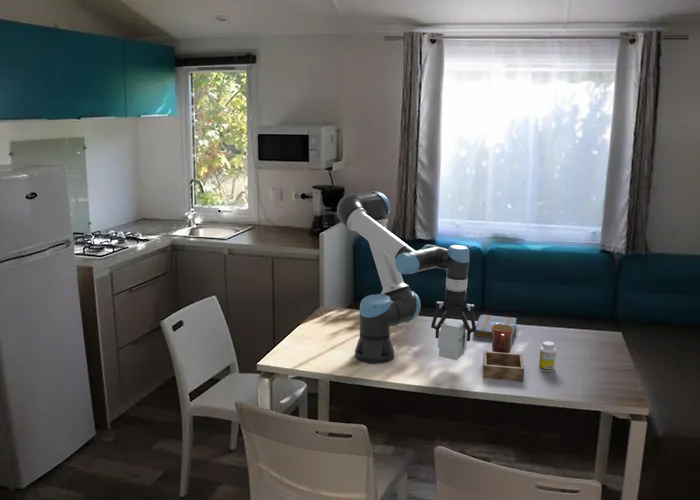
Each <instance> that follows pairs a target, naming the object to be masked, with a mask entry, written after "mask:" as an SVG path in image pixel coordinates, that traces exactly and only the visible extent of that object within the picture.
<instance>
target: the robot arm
mask: <svg viewBox="0 0 700 500" xmlns="http://www.w3.org/2000/svg"><path fill="white" fill-rule="evenodd" d="M336 208H337V209H336V214H337V217H338V219H339V221H340V223H341V224H343V226H345V227H346V228H347V229H348V230H350V231H355V232H356V233H357V234H359V235H360V236H361V237H363V238H364V239H366V240H367V241H368V244H369V248H370V251H371V253H372V254H371V255H372V257H373V260H374V263H375V267H376V270H377V274H378V277H379V280H380V282H381V286H382V287H381V288H382V290H381V293H376V294H369V295H366V296H364V298H362V299H361V301H360V305H359V338H358V340H357V344H356V347H355V349H354V357H355V359H356V360H358V361H360V362H362V363H366V364H375V365H376V364H384V363H385V364H386V363H388V362H391V361H393V359H394V358H395V349H394V346H393V342H392V340H391V328H392V327H395V326H399V325H403V324H404V323H406V324H407V323H409V322H411V321H413V320H415V319H416V318H417V317H418V316H419V314H420V312H421V306H422V305H421V299H420V297H419V295H418V294H417V293H416V292H415V291H413V290H411V288H410V285H409V284H407V283H405V281H404V279H403V276H402V275H412V274H415V273H419V272H422V271H427V270H432V269H435V268H436V269H440V270H445V271H446V276H445V277H446V278H445V291H444V300H443V301H439V300H437V301H436V303H435V312H434V316H433V318H432V321H431V326H430V327H431V328H432V329H434V330H435V336H434V337H435V339H438V341H437V348H438V349H439V345H440V330H441V324H442V323H443V322H445V321H446V320H447V319H448V318H447V317H448V316H449V314H450V315H453V314H454V315H459V316H460V318H461V321H462V322H463V323H464V325H465V328H466V331H465V344H464V351H467V345H468V344H467V343H468V342H470V341H471V334H473V332H476V319H475V312H474V310H475V304H474V303H472V304H470V303H467V288H468V278H469V276H468V273H469V266H470V265H469V264H470V249H469V247H467V246H465V245H459V244H453V245H450V246H449V247H448V248H445V247H442V246H438V245H435V244H425V245H423V247H421V248H420V249H418V250H415V249H414V248H413V247H411V246H409V245H408V244H407V243H405V242H404V241H403V240H401V239H400V238H399V237H398V236H396V235H395V234H394V233H392V232H391V230H388V228H387V225H388V222H389V219H388V217H389V215H390V212H391V211H390V210H391V204H390V201H389V198H387V196H386V195H385V194H384V193H382V192H380V191H377V190H376V191H372V190H371V191H366V192H358V193H349V194H347V195H345V196H343V197H342V198H341V199H340V200H339V202H338V204H337V207H336ZM442 307H444V308H445V311H444V313H443V315H442V317H440V320H439V321H438V322H437V320H438V317H439V314H440V313H439V312H440V310H441V309H442ZM466 308H467V310H468V311H469V316H470V322H471V326H470V324H469V321H468V319H467V317H466V315H465V312H464V310H465V309H466ZM436 323H437V324H436Z"/></svg>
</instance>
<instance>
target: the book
mask: <svg viewBox="0 0 700 500" xmlns="http://www.w3.org/2000/svg"><path fill="white" fill-rule="evenodd" d="M516 323H517V318H516V317H510V316H501V315H500V316H498V315H490V314H481V315H480V316H478V319H477V322H476V323H475V325H476V332H472V336H473V337H474V339H477V340H485V341H492V338H493V333H492V329H491V326H492V325H495V324H506V325H510V326H512V327H514V331H513V334H512V343H513V342H514V337H515V336H516V334H517V332H516V331H517V324H516ZM512 343H511V344H512Z"/></svg>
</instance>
